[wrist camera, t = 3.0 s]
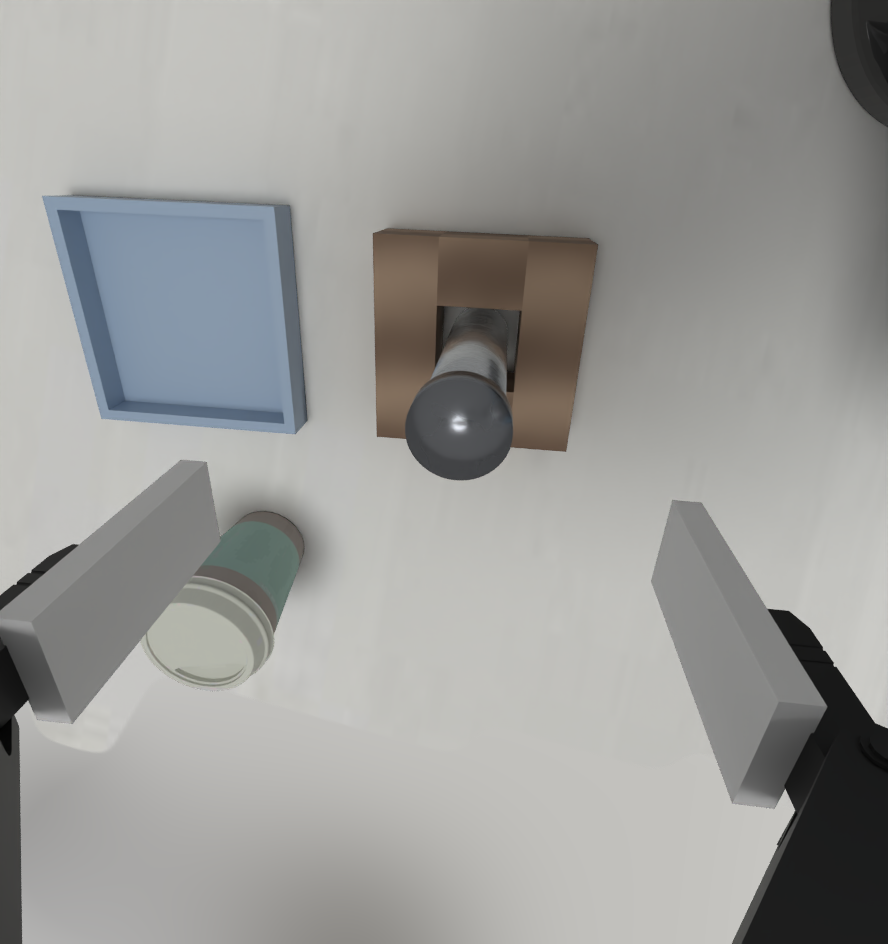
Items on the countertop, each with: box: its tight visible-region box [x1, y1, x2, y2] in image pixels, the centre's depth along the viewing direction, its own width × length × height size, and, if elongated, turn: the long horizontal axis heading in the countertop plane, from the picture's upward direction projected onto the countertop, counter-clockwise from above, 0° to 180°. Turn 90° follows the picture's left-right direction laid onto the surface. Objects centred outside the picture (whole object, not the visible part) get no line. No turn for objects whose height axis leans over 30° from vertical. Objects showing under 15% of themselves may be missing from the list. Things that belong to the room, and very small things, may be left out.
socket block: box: [373, 228, 598, 452], centre depth 34 cm, size 12×12×4 cm
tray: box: [42, 195, 307, 434], centre depth 36 cm, size 14×14×2 cm
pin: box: [405, 308, 513, 480], centre depth 29 cm, size 4×4×16 cm
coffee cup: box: [140, 512, 304, 691], centre depth 40 cm, size 8×8×12 cm
